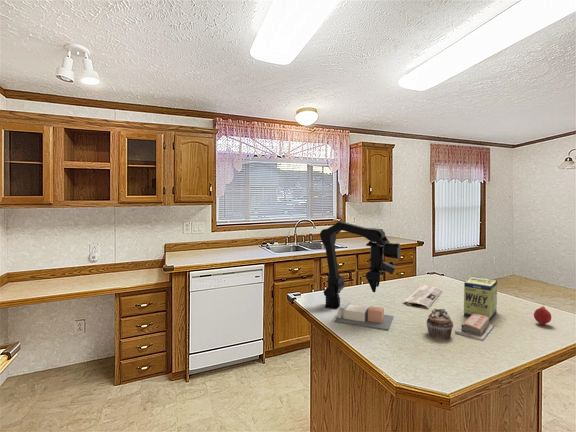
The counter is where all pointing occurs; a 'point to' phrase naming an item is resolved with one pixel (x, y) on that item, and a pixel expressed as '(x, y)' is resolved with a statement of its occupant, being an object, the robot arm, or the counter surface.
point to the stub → (376, 314)
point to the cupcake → (439, 324)
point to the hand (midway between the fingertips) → (375, 289)
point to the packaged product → (475, 327)
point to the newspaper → (424, 296)
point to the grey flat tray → (360, 317)
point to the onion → (542, 315)
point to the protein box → (480, 297)
